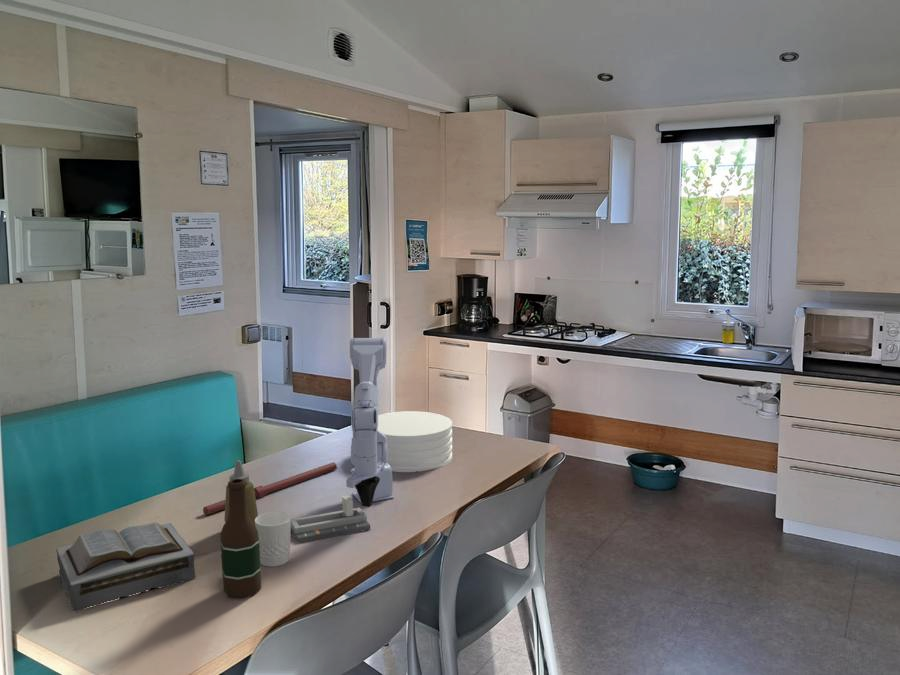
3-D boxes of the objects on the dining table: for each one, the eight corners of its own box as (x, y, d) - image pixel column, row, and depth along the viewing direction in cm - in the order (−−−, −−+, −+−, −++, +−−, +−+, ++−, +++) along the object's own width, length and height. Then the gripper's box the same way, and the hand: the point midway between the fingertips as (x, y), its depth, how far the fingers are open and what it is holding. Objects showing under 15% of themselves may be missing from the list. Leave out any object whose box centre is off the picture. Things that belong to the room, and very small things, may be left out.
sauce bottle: (227, 582, 160) (221, 474, 156) (264, 580, 161) (259, 473, 157) (219, 600, 153) (212, 488, 149) (258, 599, 153) (252, 487, 149)
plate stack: (402, 439, 260) (402, 406, 258) (469, 454, 244) (469, 420, 242) (346, 460, 238) (345, 425, 236) (415, 479, 222) (415, 441, 220)
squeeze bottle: (265, 526, 188) (262, 457, 185) (246, 540, 181) (243, 468, 178) (237, 522, 191) (234, 454, 188) (218, 535, 183) (214, 464, 180)
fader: (351, 515, 192) (351, 495, 191) (355, 520, 189) (355, 499, 188) (340, 517, 191) (339, 496, 190) (344, 522, 187) (343, 501, 186)
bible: (60, 567, 168) (56, 525, 166) (187, 545, 179) (185, 505, 177) (53, 618, 147) (48, 571, 145) (198, 589, 158) (195, 545, 156)
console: (356, 513, 196) (356, 503, 196) (370, 529, 187) (370, 519, 186) (287, 525, 189) (287, 515, 189) (298, 542, 179) (298, 532, 179)
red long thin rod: (208, 518, 194) (208, 507, 194) (201, 515, 196) (201, 504, 196) (338, 471, 229) (338, 461, 228) (331, 469, 231) (331, 459, 230)
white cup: (283, 569, 166) (281, 527, 164) (250, 566, 167) (248, 524, 166) (297, 554, 173) (296, 513, 172) (266, 551, 175) (264, 510, 173)
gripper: (368, 444, 197) (369, 493, 199) (335, 460, 184) (337, 512, 187) (391, 447, 194) (391, 498, 196) (359, 464, 181) (360, 518, 183)
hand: (366, 505), depth 191 cm, fingers closed
